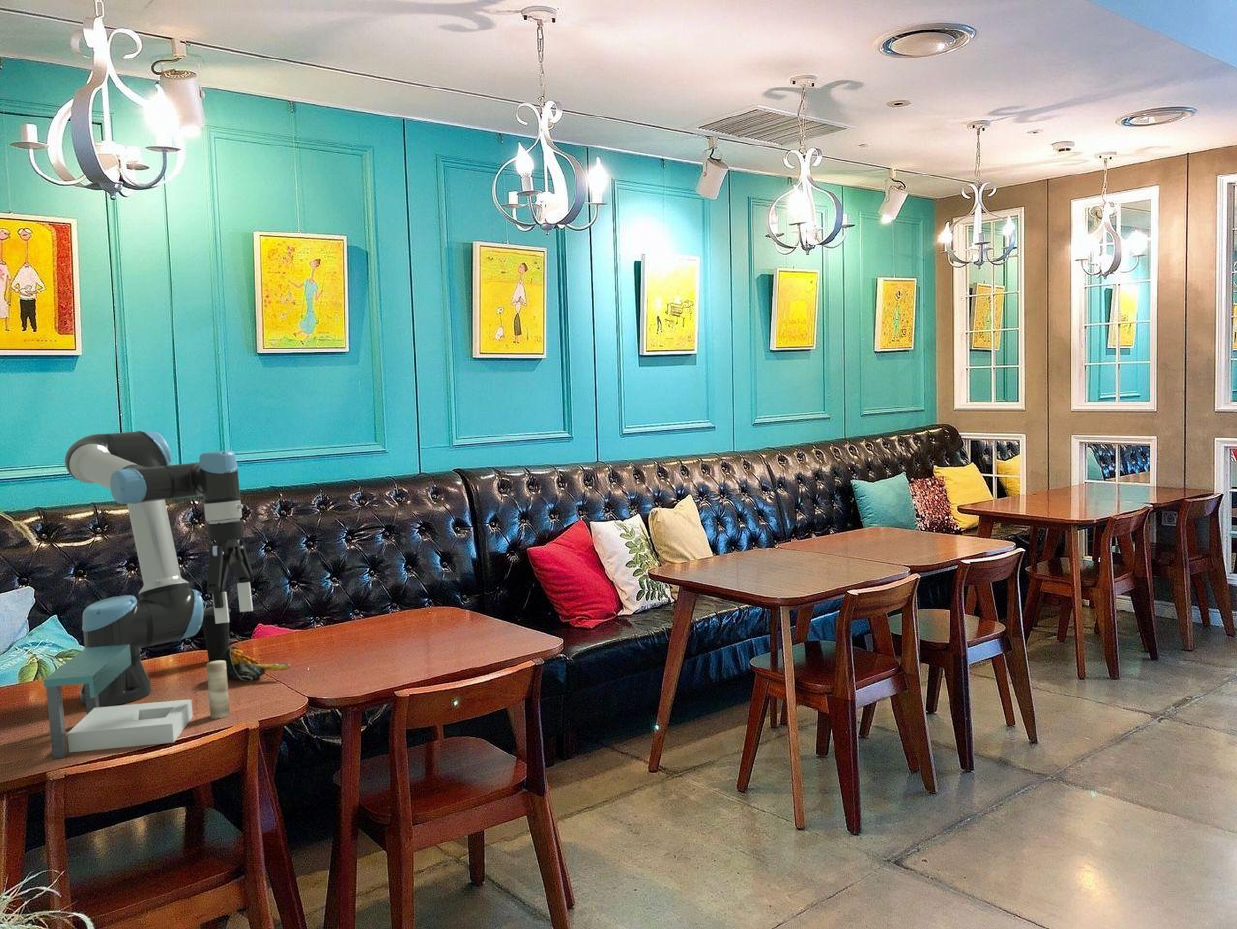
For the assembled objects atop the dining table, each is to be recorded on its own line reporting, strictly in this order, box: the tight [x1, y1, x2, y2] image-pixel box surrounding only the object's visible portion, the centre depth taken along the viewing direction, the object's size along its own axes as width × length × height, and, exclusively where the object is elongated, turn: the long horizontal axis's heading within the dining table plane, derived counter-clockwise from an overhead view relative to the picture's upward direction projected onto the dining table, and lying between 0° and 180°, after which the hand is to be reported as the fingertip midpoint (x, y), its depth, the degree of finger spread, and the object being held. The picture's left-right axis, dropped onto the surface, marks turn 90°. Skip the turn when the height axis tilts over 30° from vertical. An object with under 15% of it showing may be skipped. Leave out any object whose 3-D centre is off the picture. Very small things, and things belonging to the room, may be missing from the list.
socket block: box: [66, 698, 194, 753], centre depth 209 cm, size 16×20×4 cm
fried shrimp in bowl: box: [218, 644, 292, 682], centre depth 246 cm, size 9×11×18 cm
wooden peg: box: [206, 660, 231, 720], centre depth 218 cm, size 4×4×12 cm
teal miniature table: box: [43, 644, 131, 760], centre depth 207 cm, size 24×9×16 cm, turn 10°
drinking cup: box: [201, 604, 231, 663], centre depth 262 cm, size 8×8×20 cm
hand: (234, 617), depth 217 cm, fingers open, 13 cm apart
